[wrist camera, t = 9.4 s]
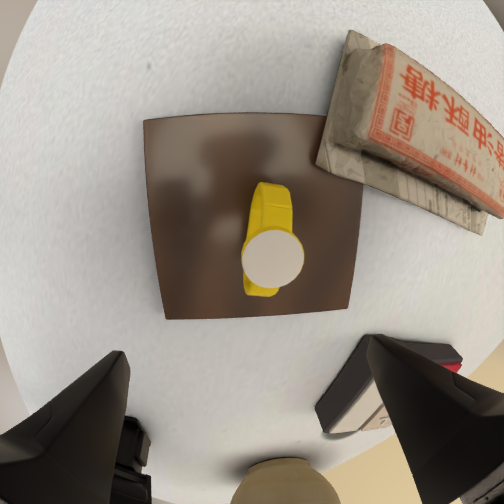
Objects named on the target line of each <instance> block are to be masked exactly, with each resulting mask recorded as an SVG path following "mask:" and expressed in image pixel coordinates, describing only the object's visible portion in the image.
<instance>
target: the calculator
mask: <svg viewBox="0 0 504 504" xmlns="http://www.w3.org/2000/svg"><path fill="white" fill-rule="evenodd" d="M371 337H372V336H371V335H367V336H365V337H364V338H363V339H362V341H361V343H360V344H359V346H358V347H357V349H356V351H355V352H354V354H353V355H352V357H351V358H350V360H349V361H348V363H347V364H346V366H345V367H344V369H343V370H342V371H341V373H340V374H339V376H338V377H337V379H336V380H335V381H334V383H333V384H332V386H331V387H330V388H329V390H328V391H327V392H326V394H325V395H324V396H323V398H322V399H321V400H320V402H319V403H318V404H317V405H316V407H315V411H316V413H317V416H318V419H319V421H320V424H321V427H322V429H323V432H324V433H340V432H349V431H356V430H359V429H361V431H366V430H373V429H378V428H384V427H388V426H390V425H391V424H392V422H391V420H390V417H389V415H388V413H387V410H386V408H385V406H384V404H383V401H382V399H381V397H380V394H379V392H378V390H377V387H376V384H375V381H374V378H373V374H372V371H371V368H370V365H369V362H368V359H367V349H368V346H369V342H370V339H371ZM389 338H390V337H389ZM391 339H393V340H394V341H396V342H398V343H400V344H402V345H404V346H406V347H408V348H410V349H411V350H413V351H415V352H417V353H419V354H421V355H423V356H425V357H427V358H428V359H430V360H432V361H434V362H436V363H438V364H440V365H442V366H444V367H446V368H448V369H449V370H451V372H452V371H453V372H455V373H457V372H458V370H459V369H460V368H461V366H462V364H461V362H462V360H463V358H462V357H461V356H460V355H459V354H458V352H457V351H456V350H455V349H454V348H453V347H452V346H451V345H444V344H424V343H409V342H401V341H398V340H396V339H394V338H391Z"/></svg>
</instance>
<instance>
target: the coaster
mask: <svg viewBox="0 0 504 504" xmlns="http://www.w3.org/2000/svg"><path fill="white" fill-rule="evenodd" d="M326 120H327V116H321V115H309V114H293V113H260V112H245V113H212V114H196V115H184V116H173V117H164V118H156V119H148V120H144V121H143V130H144V155H145V172H146V185H147V197H148V207H149V217H150V225H151V233H152V241H153V248H154V255H155V262H156V268H157V275H158V280H159V286H160V292H161V297H162V303H163V308H164V313H165V318H166V319H167V320H171V319H218V318H241V317H259V316H274V315H287V314H299V313H310V312H321V311H330V310H340V309H347V308H348V304H349V298H350V293H351V287H352V281H353V274H354V267H355V260H356V253H357V245H358V236H359V227H360V217H361V206H362V193H363V183H360V182H357V181H353V180H350V179H347V178H343V177H340V176H337V175H335V174H333V173H330V172H328V171H327V170H325V169H323V168H321V167H319V166H318V165H316V160H317V156H318V152H319V148H320V144H321V140H322V136H323V133H324V128H325V124H326ZM260 182H264V183H271V184H277V185H283V186H284V187H286V188H287V189H288V190H289V192H290V197H291V203H292V211H293V212H292V233H293V234H294V235H295V236H296V237H297V238H298V240H299V241H300V243H301V244H302V247H303V250H304V264H303V266H302V269H301V271H300V273H299V274H298V275H297V277H296V278H295V279H294V280H292V281H291V282H290V283H288V284H287V285H284V286H281V287H279V290H278V292H277V293H276V294H275V295H273V296H271V297H264V296H253V295H247V294H246V293H245V289H244V284H243V267H242V262H241V251H242V248H243V245H244V242H245V241H246V237H247V230H248V223H249V216H250V209H251V203H252V199H253V195H254V192H255V189H256V187H257V185H258V184H259V183H260Z"/></svg>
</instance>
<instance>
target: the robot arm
mask: <svg viewBox="0 0 504 504" xmlns="http://www.w3.org/2000/svg"><path fill="white" fill-rule="evenodd" d="M367 359H368V362H369V365H370V368H371V371H372V374H373V378H374V381H375V384H376V387H377V390H378V392H379V394H380V397H381V399H382V401H383V404H384V406H385V408H386V410H387V413H388V415H389V417H390V420H391V422H392V425H393V427H394V429H395V432H396V434H397V437H398V439H399V442H400V444H401V446H402V449H403V452H404V454H405V457H406V459H407V462H408V465H409V467H410V470H411V472H412V474H413V478H414V481H415V484H416V487H417V490H418V492H419V495H420V498H421V501H422V504H450V503H451V502H453V501H454V500H456V499H457V498H459V497H460V499H461V501H462V503H463V504H504V393H501V392H499V391H496V390H493V389H491V388H488V387H486V386H483V385H481V384H478V383H476V382H474V381H471V380H469V379H467V378H465V377H463V376H461V375H459V374H457V373H455V372H453V371H452V372H451V370H449V369H448V368H446V367H444V366H442V365H440V364H438V363H436V362H434V361H432V360H430V359H428V358H427V357H425V356H423V355H421V354H419V353H417V352H415V351H413V350H411V349H410V348H408V347H406V346H404V345H402V344H400V343H398V342H396V341H394V340H393V339H391V338H389V337H387V336H385V335H383V334H377V335H373V336H372V337H371V339H370V342H369V346H368V349H367ZM129 380H130V366H129V364H128V361H127V358H126V356H125V353H124V352H123V351H115V350H114V351H112V352H110V353H109V354H108V355H106V356H105V357H104V358H103V359H101V360H100V361H99V362H98V363H96V364H95V365H94V366H93V367H91V368H90V369H89V370H88V371H86V372H85V373H84V374H83V375H81V376H80V377H79V378H78V379H76V380H75V381H74V382H73V383H72V384H70V385H69V386H68V387H67V388H65V389H64V390H63V391H62V392H60V393H59V394H58V395H57V396H55V397H54V398H53V399H52V400H51V401H49V402H48V403H47V404H45V405H44V406H43V407H42V408H40V409H39V410H38V411H37V412H35V413H34V414H32V415H31V416H30V417H28V418H27V419H25V420H24V421H22V422H21V423H19V424H18V425H16V426H14V427H13V428H11V429H10V430H8V431H7V432H5V433H4V434H2V435H0V504H152V502H151V501H152V499H151V476H150V475H147V474H146V475H145V474H141V471H142V466H143V467H145V466H146V465H147V458H148V452H149V446H150V445H151V442H150V440H149V438H148V437H147V435H146V433H145V432H144V430H143V429H142V427H141V425H140V423H139V422H138V420H137V419H135V418H128V417H124V416H125V411H126V405H127V397H128V388H129Z"/></svg>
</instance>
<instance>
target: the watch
mask: <svg viewBox="0 0 504 504" xmlns="http://www.w3.org/2000/svg"><path fill="white" fill-rule="evenodd" d="M292 212H293V211H292V203H291V197H290V192H289V190H288V189H287V188H286V187H284V186H283V185H277V184H271V183H264V182H260V183H259V184H258V185H257V187H256V189H255V192H254V195H253V199H252V203H251V209H250V216H249V223H248V230H247V237H246V241H245V242H244V245H243V248H242V251H241V262H242V267H243V284H244V289H245V293H246V294H247V295H253V296H264V297H271V296H273V295H275V294H276V293H277V292H278V290H279V287H281V286H284V285H287V284H288V283H290V282H291V281H292V280H294V279H295V278H296V277H297V275H298V274H299V273H300V271H301V269H302V266H303V264H304V250H303V247H302V244H301V243H300V241H299V240H298V238H297V237H296V236H295V235H294V234H293V233H292Z"/></svg>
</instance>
